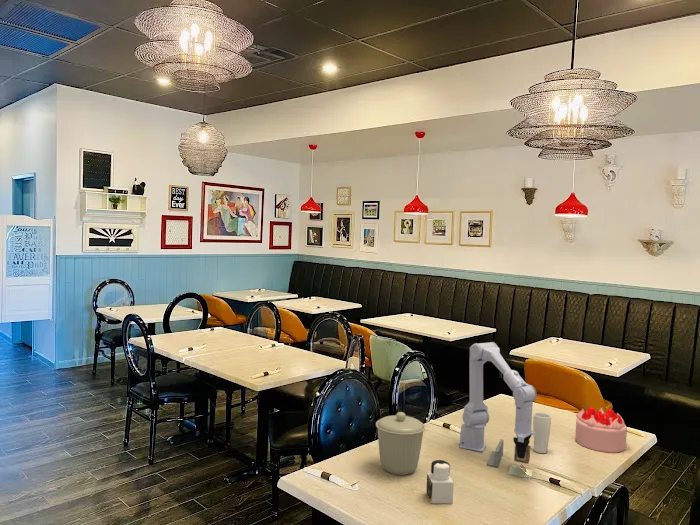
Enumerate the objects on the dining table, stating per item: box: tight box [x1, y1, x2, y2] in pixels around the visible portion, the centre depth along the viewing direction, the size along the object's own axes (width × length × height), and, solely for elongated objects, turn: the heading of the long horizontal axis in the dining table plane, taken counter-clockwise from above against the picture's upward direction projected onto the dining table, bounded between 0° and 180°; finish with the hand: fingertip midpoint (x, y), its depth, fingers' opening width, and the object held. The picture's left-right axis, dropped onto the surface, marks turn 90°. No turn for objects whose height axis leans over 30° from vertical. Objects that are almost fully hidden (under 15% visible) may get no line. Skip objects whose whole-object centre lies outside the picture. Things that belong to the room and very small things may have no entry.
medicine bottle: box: [426, 459, 454, 504], centre depth 174 cm, size 7×7×12 cm
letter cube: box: [513, 444, 531, 465], centre depth 196 cm, size 5×5×5 cm
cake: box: [574, 406, 628, 454], centre depth 228 cm, size 20×20×14 cm
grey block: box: [486, 438, 505, 469], centre depth 207 cm, size 4×14×6 cm, turn 156°
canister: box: [375, 411, 426, 476], centre depth 195 cm, size 18×18×21 cm
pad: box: [507, 464, 533, 480], centre depth 196 cm, size 8×8×1 cm
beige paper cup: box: [532, 412, 552, 454], centre depth 217 cm, size 7×7×15 cm
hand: (521, 455), depth 196 cm, fingers closed on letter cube, 5 cm apart
